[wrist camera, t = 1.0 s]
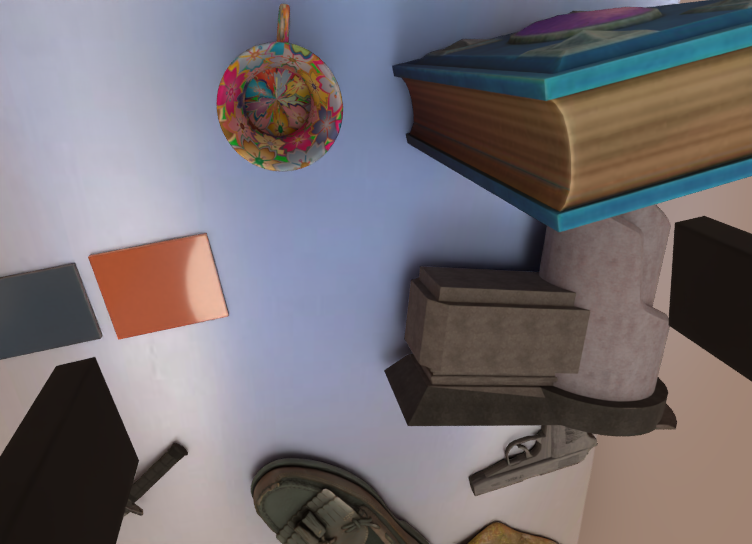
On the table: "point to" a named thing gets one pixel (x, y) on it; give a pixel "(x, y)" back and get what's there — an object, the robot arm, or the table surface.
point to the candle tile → (44, 311)
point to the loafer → (324, 506)
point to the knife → (153, 476)
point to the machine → (544, 336)
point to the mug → (279, 103)
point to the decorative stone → (506, 536)
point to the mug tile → (160, 285)
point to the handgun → (536, 458)
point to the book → (593, 108)
